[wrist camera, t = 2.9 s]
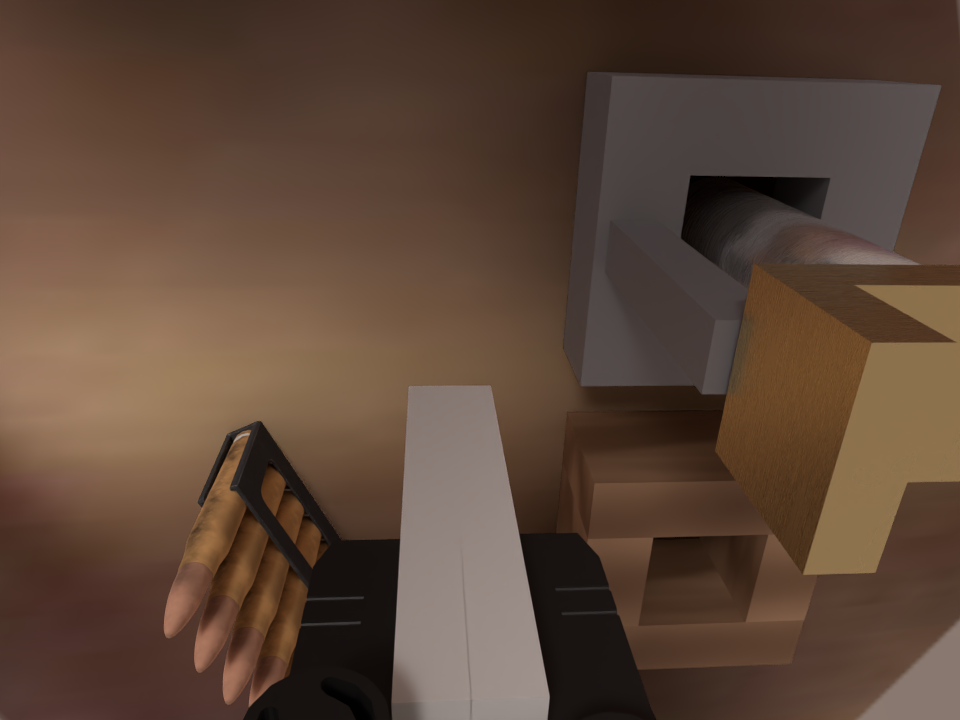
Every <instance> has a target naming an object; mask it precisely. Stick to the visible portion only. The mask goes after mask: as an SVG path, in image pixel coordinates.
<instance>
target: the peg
mask: <svg viewBox="0 0 960 720" xmlns="http://www.w3.org/2000/svg"><path fill="white" fill-rule="evenodd" d="M681 239H682V240H683V241H684V242H686V243H687V244H688V245H690V246H691V247H692V248H694V249H695V250H696V251H698V252H699V253H700V254H702V255H703V256H704V257H705V258H707V259H708V260H709V261H711V262H712V263H713V264H715V265H716V266H717V267H719V268H720V269H721V270H722V271H724V272H725V273H726V274H728V275H729V276H730V277H732V278H733V279H734V280H736V281H737V282H738V283H740V284H741V285H742V286H743V287H745V288H746V289H747V290H748V289H749V284H750V279H751V274H752V269H753V265H754V264H878V265H921V264H918V263H916V262H914V261H912V260H910V259H907V258H905V257H903V256H901V255H898V254H896V253H894V252H892V251H889V250H887V249H885V248H883V247H880V246H878V245H876V244H874V243H871V242H869V241H867V240H865V239H862V238H860V237H858V236H856V235H853V234H851V233H849V232H847V231H844V230H842V229H840V228H838V227H835V226H833V225H831V224H829V223H826V222H824V221H822V220H820V219H817V218H815V217H813V216H811V215H809V214H806V213H804V212H802V211H800V210H797V209H795V208H793V207H791V206H788V205H786V204H784V203H782V202H779V201H777V200H775V199H773V198H770V197H768V196H766V195H764V194H761V193H759V192H757V191H755V190H752V189H750V188H748V187H746V186H743V185H741V184H739V183H737V182H734V181H732V180H730V179H727V178H723V177H708V178H703V179H700V180H697V181H695V182H693V183H691V184H689V187H688V194H687V200H686V207H685V213H684V219H683V226H682V232H681Z"/></svg>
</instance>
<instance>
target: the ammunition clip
mask: <svg viewBox="0 0 960 720" xmlns="http://www.w3.org/2000/svg"><path fill="white" fill-rule="evenodd" d="M198 503H199V505H200V506H201V507H202V509H201V511H200V513H199V515H198V518H197V520H196V522H195V524H194V526H193V528H192V530H191V532H190V534H189V536H188V539H187V542H186V547H185V553H184V557H183V559H182V562H181V564H180V567H179V569H178V574H177V576H176V578H175V580H174V583H173V585H172V588H171V591H170V594H169V597H168V601H167V605H166V610H165V619H164V632H165V636H166V637H167V638H172V637H173V636H175V635H176V634H177V633H178V632H180V631H181V630H182V629H183V627H184V626H185V625H186V624H187V623H188V621H189V620H190V619H191V617H192V616H193V614H194V613H195V612H196V610H197V609H198V607H199V605H200V603H201V602H202V600H203V598H204V596H205V594H206V592H207V590H208V587H209V585H210V583H211V589H210V592H209V595H208V598H207V601H206V606H205V609H204V612H203V614H202V617H201V620H200V624H199V628H198V632H197V637H196V644H195V655H194V659H195V667H196V670H197V672H203V671H204V670H205V669H206V668H207V667H208V666H209V665H210V664H211V663H212V662H213V661H214V659H215V658H216V656H217V655H218V653H219V652H220V651H221V649H222V647H223V646H224V644H225V642H226V640H227V638H228V636H229V634H230V632H231V630H232V628H233V625H234V622H235V625H234V628H233V632H232V637H231V641H230V645H229V648H228V652H227V657H226V662H225V667H224V674H223V695H224V699H225V703H226V704H228V705H229V704H232V703H233V702H234V701H235V700H236V698H237V697H238V696H239V695H240V693H241V692H242V691H243V689H244V687H245V686H246V684H247V682H248V680H249V679H250V677H251V675H252V673H253V670H254V668H255V667H256V668H255V672H254V676H253V680H252V685H251V691H250V698H249V707H250V706H251V705H252V704H253V703H254V702H255V701H256V700H257V699H258V698H259V697H260V696H261V695H262V694H263V693H264V692H265V691H266V690H267V689H268V688H269V687H270V686H271V685H272V684H274V683H276V682H278V681H280V680H282V679H284V678H285V677H287V676H289V674H290V670H291V665H292V660H293V656H294V651H295V647H296V642H297V638H298V633H299V629H300V628H301V620H302V615H303V610H304V606H305V602H306V601H307V592H308V588H309V583H310V579H311V574H312V570H313V566H314V565H315V563H316V562H317V561H318V560H319V558H320V557H321V556H322V555H323V553H324V552H325V551H326V550H327V548H328V547H329V546H330V545H331V543H332V542H333V541H341V539H340V538H339V536H338V535H337V533H336V532H335V530H334V529H333V527H332V526H331V524H330V523H329V521H328V520H327V518H326V517H325V515H324V514H323V512H322V511H321V509H320V508H319V506H318V505H317V503H316V502H315V501H314V499H313V498H312V496H311V495H310V493H309V492H308V490H307V489H306V487H305V486H304V484H303V483H302V481H301V480H300V478H299V477H298V475H297V474H296V472H295V471H294V469H293V468H292V466H291V465H290V463H289V462H288V461H287V459H286V458H285V456H284V455H283V453H282V452H281V450H280V449H279V447H278V446H277V444H276V443H275V441H274V440H273V438H272V437H271V435H270V434H269V432H268V431H267V429H266V428H265V426H264V425H263V423H262V422H261V421H257V422H255V423H252V424H250V425H248V426H245V427H243V428H241V429H238V430H236V431H234V432H231V433H229V434H227V436H226V438H225V441H224V443H223V445H222V448H221V450H220V452H219V454H218V457H217V459H216V461H215V464H214V466H213V468H212V470H211V473H210V475H209V477H208V480H207V482H206V484H205V486H204V489H203V491H202V493H201V495H200V498H199V500H198ZM235 619H236V621H235Z"/></svg>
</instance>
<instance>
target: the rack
mask: <svg viewBox="0 0 960 720" xmlns="http://www.w3.org/2000/svg"><path fill="white" fill-rule="evenodd" d="M722 415H723V411H645V412H567V421H566V432H565V442H564V453H563V463H562V474H561V484H560V495H559V505H558V516H557V526H556V533H578V534H579V535H580V536H581V537H582V538H583V539H584V541H585V542H586V543H587V544H588V545H589V546H590V547H591V548H592V549H593V550H594V551H595V552H596V553H597V555H598V556H599V557H600V560H601V563H602V566H603V569H604V572H605V575H606V578H607V581H608V584H609V591H611V592H612V595H613V598H614V601H615V604H616V607H617V614H618V615H619V616H620V619H621V622H622V625H623V628H624V631H625V634H626V637H627V640H628V642H629V645H630V648H631V651H632V654H633V657H634V660H635V663H636V666H637V669H638V670H648V669H673V668H698V667H723V666H748V665H773V664H791V662H792V659H793V655H794V652H795V649H796V646H797V642H798V639H799V636H800V633H801V629H802V626H803V623H804V620H805V617H806V613H807V610H808V607H809V604H810V600H811V597H812V594H813V591H814V587H815V584H816V581H817V578H818V575H819V574H817V575H803V574H802V573H801V571H800V570H799V569H798V567H797V566H796V564H795V563H794V562H793V560H792V559H791V557H790V556H789V555H788V553H787V552H786V550H785V549H784V548H783V546H782V545H781V543H780V542H779V540H778V539H777V538H776V536H775V535H774V533H773V532H772V531H771V529H770V528H769V526H768V525H767V524H766V522H765V521H764V519H763V518H762V517H761V515H760V514H759V512H758V511H757V509H756V508H755V507H754V505H753V504H752V502H751V501H750V500H749V498H748V497H747V495H746V494H745V493H744V491H743V490H742V488H741V487H740V486H739V484H738V483H737V481H736V480H735V479H734V477H733V476H732V474H731V473H730V471H729V470H728V469H727V467H726V466H725V464H724V463H723V462H722V460H721V459H720V457H719V456H718V455H717V453H716V452H715V449H716V444H717V439H718V434H719V430H720V425H721V420H722ZM694 536H700V538H699V539H664V540H653V537H694Z"/></svg>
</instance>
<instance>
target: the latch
mask: <svg viewBox="0 0 960 720" xmlns="http://www.w3.org/2000/svg"><path fill="white" fill-rule="evenodd" d="M715 452H716V453H717V455H718V456H719V457H720V459H721V460H722V462H723V463H724V464H725V466H726V467H727V469H728V470H729V471H730V473H731V474H732V476H733V477H734V479H735V480H736V481H737V483H738V484H739V486H740V487H741V488H742V490H743V491H744V493H745V494H746V495H747V497H748V498H749V500H750V501H751V502H752V504H753V505H754V507H755V508H756V509H757V511H758V512H759V514H760V515H761V517H762V518H763V519H764V521H765V522H766V524H767V525H768V526H769V528H770V529H771V531H772V532H773V533H774V535H775V536H776V538H777V539H778V540H779V542H780V543H781V545H782V546H783V548H784V549H785V550H786V552H787V553H788V555H789V556H790V557H791V559H792V560H793V562H794V563H795V564H796V566H797V567H798V569H799V570H800V571H801V573H802V574H803V575H817V574H850V573H875V572H876V569H877V566H878V564H879V561H880V558H881V555H882V552H883V549H884V547H885V544H886V541H887V538H888V535H889V533H890V530H891V527H892V524H893V521H894V518H895V516H896V513H897V510H898V507H899V504H900V501H901V499H902V496H903V493H904V490H905V487H906V485H907V482H948V481H960V265H878V264H754V265H753V269H752V274H751V279H750V284H749V289H748V294H747V299H746V303H745V308H744V313H743V318H742V323H741V328H740V333H739V337H738V342H737V347H736V352H735V357H734V362H733V367H732V371H731V376H730V381H729V386H728V391H727V396H726V400H725V405H724V410H723V415H722V420H721V425H720V430H719V434H718V439H717V444H716V449H715Z"/></svg>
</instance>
